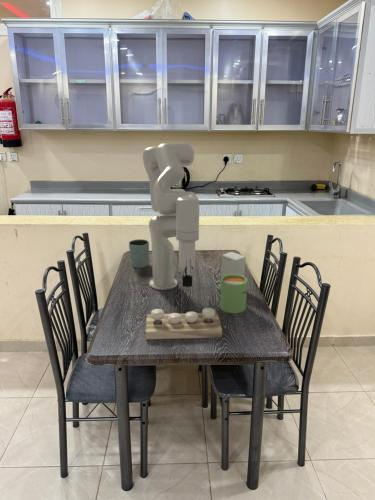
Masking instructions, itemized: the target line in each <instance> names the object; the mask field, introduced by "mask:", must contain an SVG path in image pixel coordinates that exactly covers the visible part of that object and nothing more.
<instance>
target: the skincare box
mask: <svg viewBox="0 0 375 500" xmlns="http://www.w3.org/2000/svg"><path fill="white" fill-rule="evenodd" d="M221 257H222V258H221V269H220V270H221V272H220V279H221V278H222V277H223V276H225V275H230V274H236V275H241V276H244V277H245V267H246V256H243V255H241V254H239V253H236V252H233V251H229V252H227V253H223V254H222V255H221ZM219 288H220V289H221V282H220V283H219Z"/></svg>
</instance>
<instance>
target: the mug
mask: <svg viewBox="0 0 375 500" xmlns="http://www.w3.org/2000/svg"><path fill="white" fill-rule="evenodd" d="M220 283H221V288H220V298H219V299H220V300H219V301H220V302H219V303H220V305H219V306H220V307H219V308H220V309H221V311H223V312H225V313H228V314H239V313H243V312H244V311H245V310H246V309H247V295H248V294H247V291H248V278H247V277H245V275H244V276H241V275H236V274H230V275H225V276H223V277H222V278H221V277H220Z"/></svg>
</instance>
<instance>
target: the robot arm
mask: <svg viewBox="0 0 375 500" xmlns="http://www.w3.org/2000/svg"><path fill="white" fill-rule="evenodd" d="M194 160H195V151H194V148H193V146H192V145H191V144H190V143H188V142H163V143H160V144H159V145H157V146H150V147H149V146H148V147H147V148H145V149H144V150H143V153H142V161H143V166H144V168H145V169H144V170H145V171H146V174H147V177H148V180H149V194H150V195H149V196H150V205H151V210H153V212H155V213H159V214H160V215H156V216H153V217H151V218H150V219H149V222H148V229H149V234H150V240H151V263H152V265H151V269H152V279H149V280H150V281H149V283H148V284H149V287H150V288H152V289H154V290H159V291H168V290H172V289H175V288H176V287H177V286H178V283H179V282H178V280H177V279H176V278H175V252H174V251H175V250H174V244H173V243H172V242H171V241H170V240H169V238H175V239H176V241H178V266H179V267H178V268H179V270H180V271H182V276H181V277H182V287H184V288H186V287H188V288H189V287H193V271H194V270H195V267H196V266H195V265H196V242H197V241H199V240H200V200H199V198H198V196H197V195H196V194H195V192H193V191H186V190H185V189H183V188H171V187H173V186H175V185H177V184H179V183H180V182H181V181H183V179H184V177H185V169H184V167H189V166H190V165H192V164H193V162H194Z"/></svg>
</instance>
